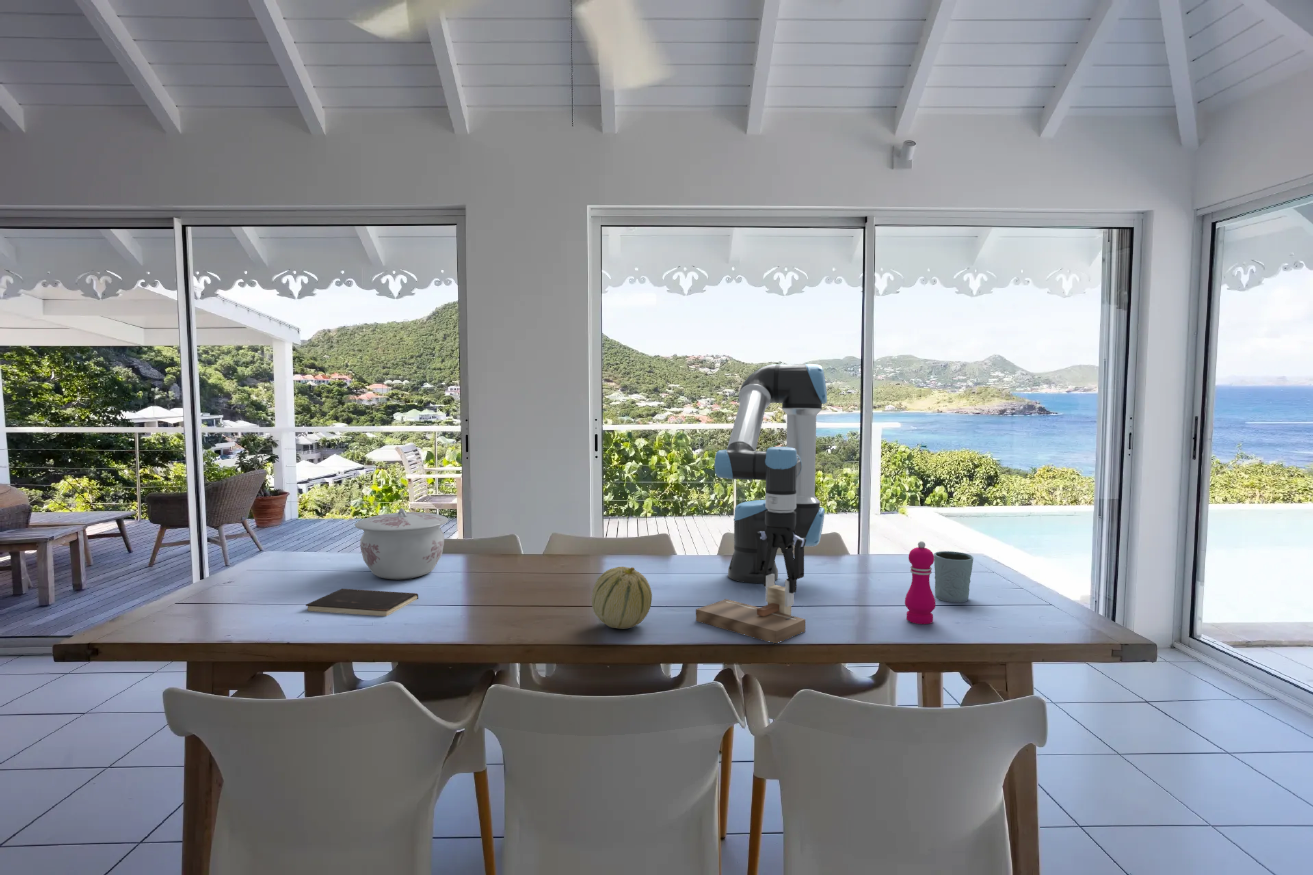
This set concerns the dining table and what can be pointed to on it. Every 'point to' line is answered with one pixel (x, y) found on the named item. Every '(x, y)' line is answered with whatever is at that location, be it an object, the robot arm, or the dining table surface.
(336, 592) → the hardcover book
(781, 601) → the marking gauge
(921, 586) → the pepper mill
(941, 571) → the green ceramic cup
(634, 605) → the cantaloupe
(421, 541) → the chamber pot
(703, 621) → the walnut board
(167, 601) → the dining table surface
